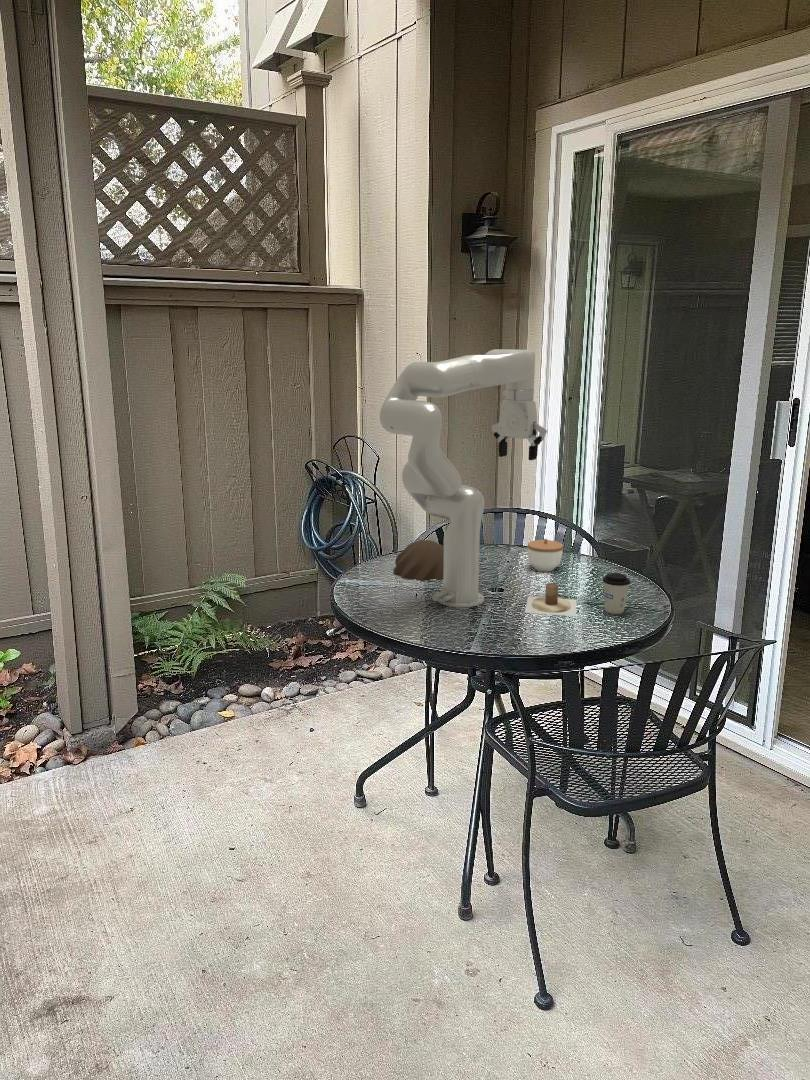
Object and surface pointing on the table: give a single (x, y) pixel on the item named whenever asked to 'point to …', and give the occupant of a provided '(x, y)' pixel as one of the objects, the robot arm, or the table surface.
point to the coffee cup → (615, 592)
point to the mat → (569, 612)
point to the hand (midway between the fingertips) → (517, 457)
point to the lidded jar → (545, 554)
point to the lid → (551, 600)
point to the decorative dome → (421, 561)
